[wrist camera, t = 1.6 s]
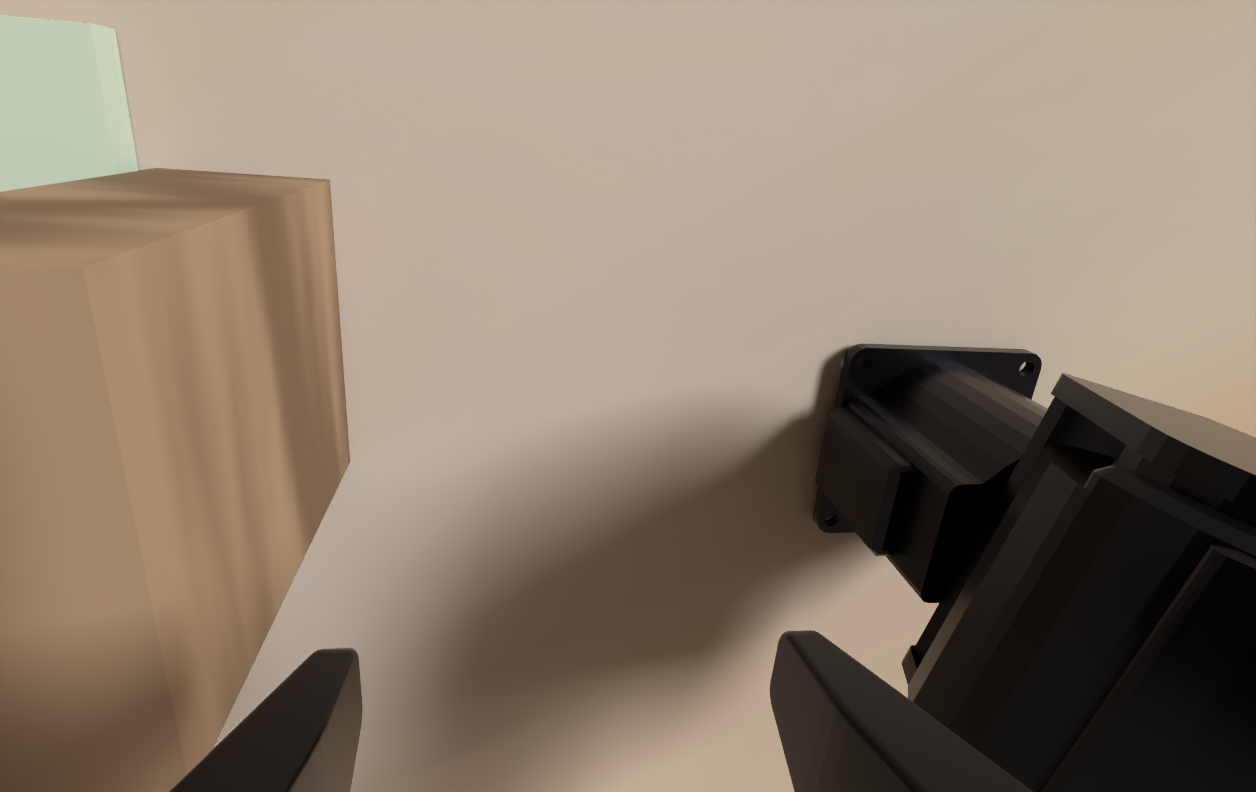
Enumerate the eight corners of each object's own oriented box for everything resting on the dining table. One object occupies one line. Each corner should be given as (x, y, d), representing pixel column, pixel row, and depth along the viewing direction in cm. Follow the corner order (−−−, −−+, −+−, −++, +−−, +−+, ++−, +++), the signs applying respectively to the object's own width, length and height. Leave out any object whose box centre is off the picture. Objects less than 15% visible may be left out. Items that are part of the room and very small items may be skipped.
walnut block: (329, 179, 18) (82, 267, 8) (350, 461, 21) (190, 794, 11) (156, 168, 17) (-365, 247, 7) (203, 460, 20) (-118, 815, 10)
